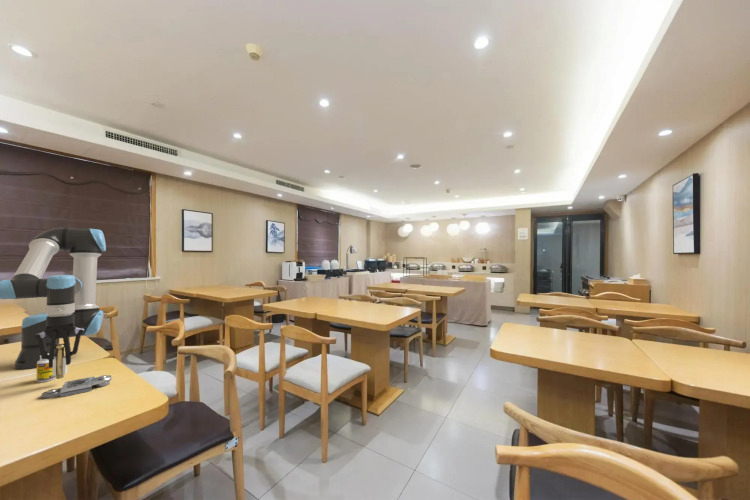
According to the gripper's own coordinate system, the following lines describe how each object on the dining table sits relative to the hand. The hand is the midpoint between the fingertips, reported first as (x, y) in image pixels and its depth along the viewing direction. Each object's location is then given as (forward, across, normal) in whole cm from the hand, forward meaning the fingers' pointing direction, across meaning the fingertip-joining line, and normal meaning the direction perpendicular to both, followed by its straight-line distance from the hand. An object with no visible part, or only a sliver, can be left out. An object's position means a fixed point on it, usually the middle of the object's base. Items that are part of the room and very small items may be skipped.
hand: (59, 373), depth 113 cm
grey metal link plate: (+4, +6, -11) cm, 13 cm away
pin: (+1, 0, 0) cm, 1 cm away
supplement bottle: (+5, -5, +9) cm, 12 cm away
